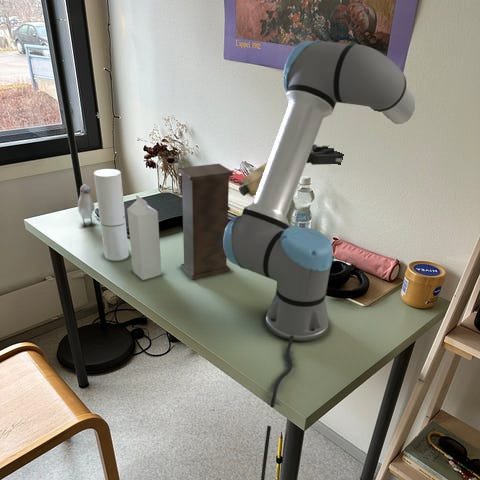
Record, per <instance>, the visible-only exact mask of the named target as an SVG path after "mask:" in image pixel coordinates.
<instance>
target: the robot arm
mask: <svg viewBox="0 0 480 480" xmlns="http://www.w3.org/2000/svg"><path fill="white" fill-rule="evenodd" d="M283 75H284V76H283V77H282V83H283V88H284V91H285V92H286V93H285V99H286V101H287V104H288V106H287V108H286V112H285V114H284V118H283V119H282V122H281V125H280V128H279V131H278V133H277V136H276V139H275V141H274V144H273V146H272V149H271V153H270V155H269V157H268V161H267V162H268V163H267V162H266V163H267V166H266V168H265V171H264V174H263V177H262V179H261V182H260V185H259V187H258V190H257V193H256V195H254V199H253V201H252V203H251V204H249V205H247V206H245V207H244V208H243V210H242V213H241V215H236V216H233V217H232V219H231V220H229V221H228V225H227V227H226V229H225V232H224V237H223V248H224V250H225V255H226V257H227V260H228V261H229V262H230V263H232V264H234V265H236V266H238V267H239V268H240V269H244V270H248V271H250V272H252V273H254V274H258V275H260V276H263V277H265V278H268V279H271V280H273V281H275V282H276V289H275V295H274V297H273V299H272V301H271V302H270V305H269V307H268V309H267V310H266V311H267V312H266V316H265V324H266V328H268V330H269V331H270V332H271V333H272V334H274V335H276V336H277V337H279V338H281V339H284V340H287V341H288V343H287V346H286V351H285V355H286V356H285V357H286V359H287V362H288V367H287V368H286V370H285V371H284V372H283V373H281V374H280V375H279V376H278V378H277V379H276V381H275V383H274V385H273V390H272V396H271V401H270V405H269V407H270V408H274V407H275V404H276V401H277V394H278V389H279V387H280V383H281V382H282V380H283V379H284V378H285V377H286V376H287V375H288V374H289V373H290V372H291V370H292V368H293V361H292V358H291V355H290V352H291V351H290V350H291V348H292V345H293V342H299V343H300V342H303V343H304V342H312V341H315V340H318V339H320V338H322V337H324V336H325V334H326V333H327V332H328V328H329V322H330V320H329V313H328V308H327V303H326V295H327V289H328V283H329V279H330V278H329V277H330V272H331V267H332V264H333V244H332V243H331V240H330V239H329V238H328V237H327V235H325V234H324V233H322V232H320V231H319V230H316V229H314V228H311V227H306V226H304V227H302V226H300V225H299V226H298V225H297V226H296V225H295V226H290V222H289V220H288V218H287V215H288V212H289V210H290V208H291V204H292V202H293V199H294V197H295V194H296V191H297V189H298V186H299V183H300V180H301V178H302V175H303V172H304V170H305V168H306V165H307V164H310V165H312V166H315V165H319V166H321V165H330V164H338V165H341V162H342V160H343V156H344V154H342V153H340V152H337V151H334V148H328V147H329V145H322V146H318V145H317V144H315V141H316V138H317V136H318V133H319V132H320V131H319V130H320V128H321V125H322V123H323V120H324V118H327V117H329V116H331V115H332V114H333V112H334V110H335V107H336V104H337V103H339V104H344V105H345V104H348V105H354V106H360V107H361V106H362V107H366V106H367V107H370V108H371V109H373V110H374V111H378V112H382V113H383V114H384V115H385V116H386V117H387V118H388V119H390V120H391V121H392V122H393V123H395V124H403V123H405V122H407V121H408V120H409V119H410V118H411V116H412V115H413V112H414V110H415V99H414V97H415V96H414V94H413V93H412V91H411V90H410V89H409V88H408V85H407V84H408V83H407V78H406V76H405V74H404V72H403V71H402V70H401V69H400V67H399V66H398V65H397V64H396V63H395V62H394V61H393V60H391V59H390V58H389V57H387V56H386V54H383V53H382V52H380V51H379V50H377V49H375V48H372V47H370V46H367V45H363V44H352V43H340V42H332V41H330V42H329V41H324V40H321V39H320V40H319V39H318V40H317V39H316V40H305V41H302V42H301V43H298V44H297V45H296V46H295V47H294V48H293V49H292V50H291V52H290V54H288V57H287V59H286V61H285V63H284V67H283ZM312 148H313V151H314V152H313V153H311V149H312ZM271 431H272V426H270V425H266V432H265V441H264V450H263V459H262V465H261V466H262V467H261V476H260V480H265V479H266V478H265V477H266V471H267V462H268V453H269V446H270V437H271Z"/></svg>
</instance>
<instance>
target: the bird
mask: <svg viewBox="0 0 480 480" xmlns="http://www.w3.org/2000/svg"><path fill="white" fill-rule="evenodd" d="M79 191H80V193H79V198H78V201H77V209H78V210H77V211H78V213H79V214H80V217H81V219H82V221H83V225H82V227H85V228H87V227H88V226H90V227H91V226H94V225H96V223H93V220H92V219H93V215H92V214H93V212H94V211H95V203H94V201H93V199H92V195H91V194H92V191H91V188H90V186H89V185H87V184H86V183H85V184H82V185H81V186H80V188H79ZM85 219H86V220H88V219H90V225H88V224H86V223H85Z"/></svg>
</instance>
